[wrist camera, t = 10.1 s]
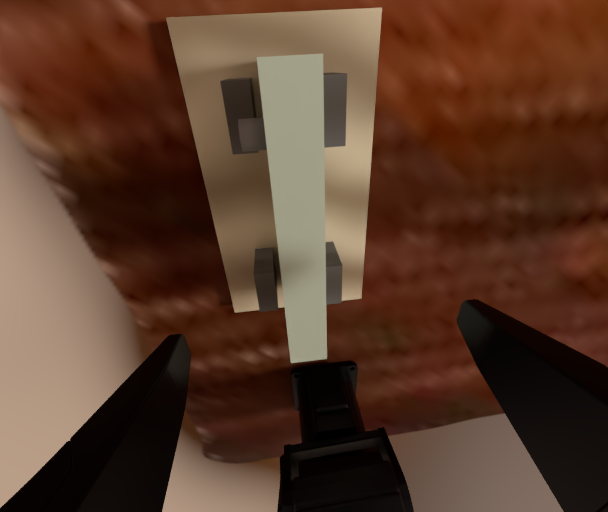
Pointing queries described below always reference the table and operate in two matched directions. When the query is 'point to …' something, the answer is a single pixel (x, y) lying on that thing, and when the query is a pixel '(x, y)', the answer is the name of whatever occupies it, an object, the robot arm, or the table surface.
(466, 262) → the table surface
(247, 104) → the hinge base
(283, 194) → the door panel
